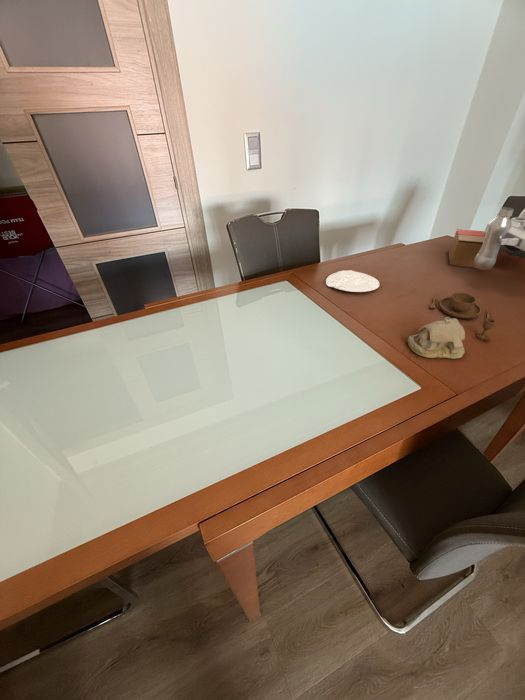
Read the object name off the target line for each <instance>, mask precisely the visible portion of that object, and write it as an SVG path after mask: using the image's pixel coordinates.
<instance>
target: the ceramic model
mask: <svg viewBox="0 0 525 700" xmlns="http://www.w3.org/2000/svg"><path fill="white" fill-rule="evenodd" d="M418 332H419V333H417V334H414V335H413V334H412V335H409V336H408V338H407V345H408V347H409V349H410V350H411V351H412V352H414V353H415V354H417V355H418V356H420V357H424V358H429V359H435V358H442V359H446V358H447V359H461V358H462V357H463V356H464V354H465V353H466V351H465V348H464V344H463V341H464V340H465V339H466V333H465V332H466V331H465V328H464V327H463V325H461V323H460V322H459V320H458V318H455V317H452V318H451V317H450V316H446V317H444V318H443V320H434V321H433V322H430V323H428V324H425V325H422V326H420V328H419V329H418Z"/></svg>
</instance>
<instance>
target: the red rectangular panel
mask: <svg viewBox="0 0 525 700" xmlns="http://www.w3.org/2000/svg"><path fill="white" fill-rule="evenodd" d="M456 231H457V233H458V235H471V236H483V234H484V232H485V230H473V229H472V230H471V229H461V228H460V229H459V228H457V229H456ZM483 237H484V236H483Z"/></svg>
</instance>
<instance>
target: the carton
mask: <svg viewBox="0 0 525 700" xmlns="http://www.w3.org/2000/svg"><path fill="white" fill-rule="evenodd" d="M484 239H485V237H483V236H471V235H458V233H457V230H456V231H455V233H454V236H453V239H452V242H451V244H450V247H449V250H448V260H449V265H451V266H458V267H466V268H467V267H468V268H475V267H474V265H473V262H474V259H475V257H476V255H477V254H478V252H479V250H480V248H481V246H482V244H483V242H484Z"/></svg>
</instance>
